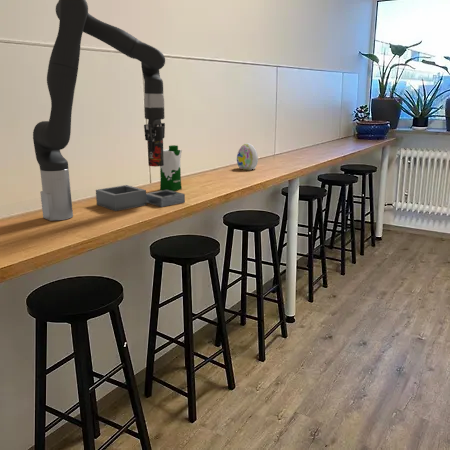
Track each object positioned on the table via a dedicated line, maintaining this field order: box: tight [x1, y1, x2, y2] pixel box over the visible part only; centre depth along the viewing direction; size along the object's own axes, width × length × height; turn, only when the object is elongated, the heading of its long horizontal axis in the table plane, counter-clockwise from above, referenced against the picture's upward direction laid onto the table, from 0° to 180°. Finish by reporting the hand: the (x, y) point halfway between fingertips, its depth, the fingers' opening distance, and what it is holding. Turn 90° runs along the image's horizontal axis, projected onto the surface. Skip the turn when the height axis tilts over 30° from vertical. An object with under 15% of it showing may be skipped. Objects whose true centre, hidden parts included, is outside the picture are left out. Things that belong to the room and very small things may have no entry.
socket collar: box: [146, 190, 186, 208], centre depth 182 cm, size 12×12×4 cm
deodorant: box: [147, 126, 164, 168], centre depth 175 cm, size 6×6×15 cm
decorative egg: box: [236, 142, 259, 171], centre depth 261 cm, size 12×12×15 cm
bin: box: [95, 184, 148, 212], centre depth 177 cm, size 14×14×6 cm
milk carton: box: [159, 144, 183, 192], centre depth 203 cm, size 9×9×20 cm
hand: (155, 150), depth 175 cm, fingers closed on deodorant, 6 cm apart
